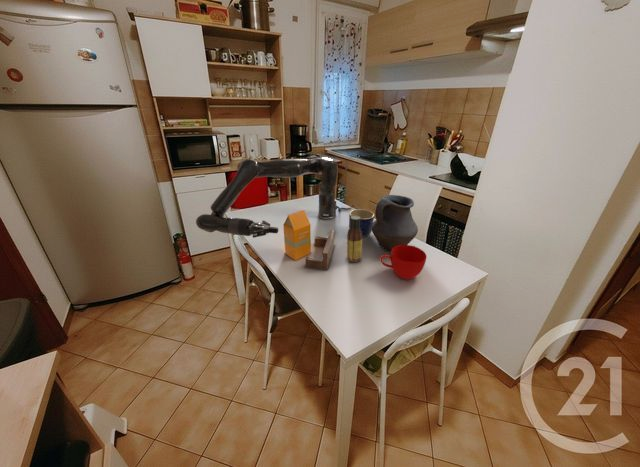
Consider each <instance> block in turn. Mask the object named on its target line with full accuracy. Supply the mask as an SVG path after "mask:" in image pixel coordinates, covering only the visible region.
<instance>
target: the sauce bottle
mask: <svg viewBox="0 0 640 467" xmlns="http://www.w3.org/2000/svg"><path fill="white" fill-rule="evenodd" d="M350 220H351V226H350V228H349V227H348V230H347V237H346V238H347V240H346V244H347V245H346V258H347V261H349V262H352V263H358V262H360V261H361V260H362V252H363V237H362V232H361V229H360V220H361V218H360V217H359V216H351V218H350Z"/></svg>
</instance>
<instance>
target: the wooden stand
mask: <svg viewBox="0 0 640 467" xmlns="http://www.w3.org/2000/svg"><path fill="white" fill-rule="evenodd" d="M335 232H336V231H335V230H329V234H328V236H327V237H324V236H315V237H314V247H323V251H322V258H320V257H311V256H305V268H306V269H313V270H322V271H323V270H325V271H328V268H329V265H330V263H331V262H330V261H331V258H332V255H333V251H334V248H335Z"/></svg>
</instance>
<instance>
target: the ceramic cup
mask: <svg viewBox="0 0 640 467" xmlns="http://www.w3.org/2000/svg"><path fill="white" fill-rule="evenodd" d="M427 257H428V256H427V254H426V252H425V251H424V250H423V249H421V248H419V247H417V246H414V245H410V244H408V245H398V246H395V247H394V248H393V249H392V251H390V255H389V254H382V255H381V256H380V259H379V260H380V263H381V264H382V265H383V266H384V267H387V268H390V269H392V271H393V272H394V274H396V276H397V277H398V278H400V279H402V280H412V279H413V278H415V277H417V276H418V275H419V274H420V273H421V272H422V271H423V269H424V267H425V264H426V262H427ZM384 258H388V259H389V260H390V264H387V263H386V262H384V261H383V260H384Z"/></svg>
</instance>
